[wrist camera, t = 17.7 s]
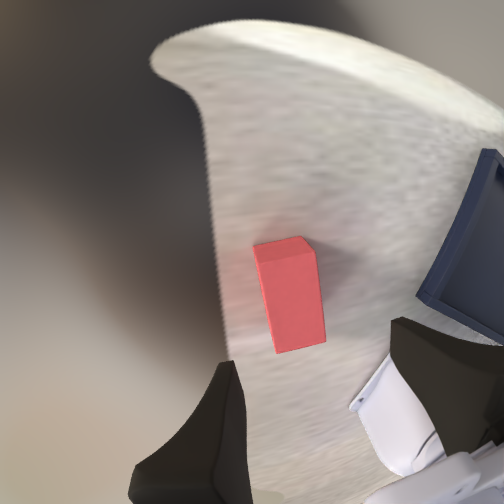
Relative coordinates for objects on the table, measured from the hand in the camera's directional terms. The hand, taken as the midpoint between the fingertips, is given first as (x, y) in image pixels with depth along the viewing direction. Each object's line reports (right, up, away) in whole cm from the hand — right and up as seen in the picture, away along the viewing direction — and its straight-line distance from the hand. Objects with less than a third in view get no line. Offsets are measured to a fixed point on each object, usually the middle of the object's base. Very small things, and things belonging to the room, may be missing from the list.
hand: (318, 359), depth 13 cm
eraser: (-1, +3, +8) cm, 8 cm away
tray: (+22, +3, +9) cm, 24 cm away
